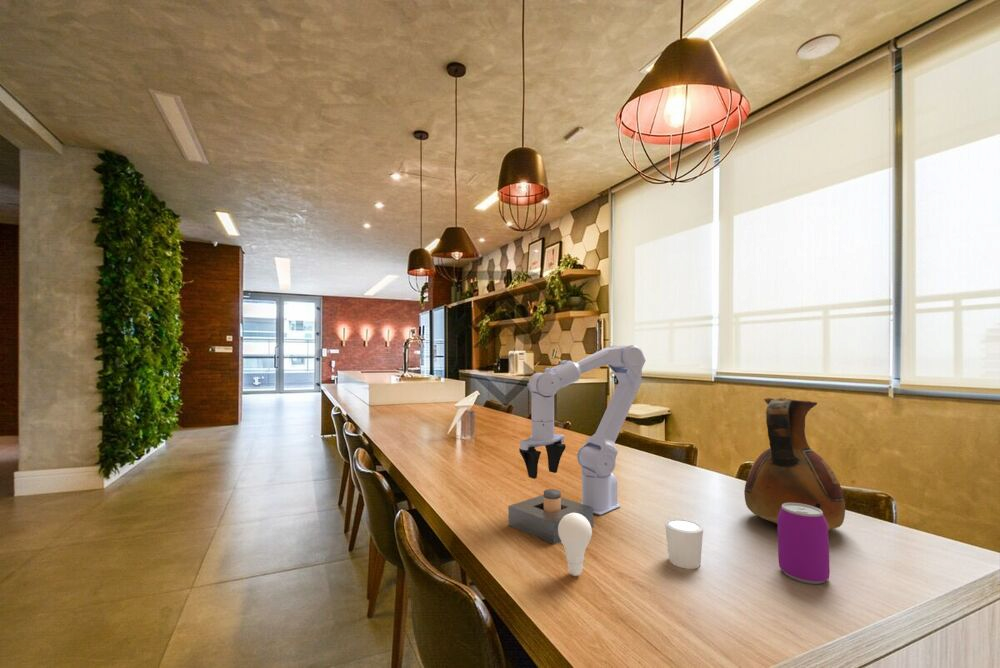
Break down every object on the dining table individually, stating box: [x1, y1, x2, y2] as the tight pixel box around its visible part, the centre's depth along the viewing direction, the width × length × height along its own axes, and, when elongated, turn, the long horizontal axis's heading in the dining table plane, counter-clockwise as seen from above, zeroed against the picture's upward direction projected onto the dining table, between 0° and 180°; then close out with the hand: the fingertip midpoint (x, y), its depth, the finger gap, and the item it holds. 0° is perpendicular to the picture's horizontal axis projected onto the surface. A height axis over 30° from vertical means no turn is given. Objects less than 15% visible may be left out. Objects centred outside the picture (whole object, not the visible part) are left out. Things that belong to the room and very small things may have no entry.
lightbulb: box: [558, 513, 593, 577], centre depth 80 cm, size 6×6×11 cm
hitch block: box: [507, 494, 594, 545], centre depth 102 cm, size 14×14×4 cm
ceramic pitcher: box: [743, 397, 846, 531], centre depth 104 cm, size 20×20×30 cm
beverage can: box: [777, 503, 831, 585], centre depth 80 cm, size 8×8×12 cm
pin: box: [543, 488, 562, 513], centre depth 102 cm, size 4×4×8 cm
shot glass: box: [664, 518, 704, 570], centre depth 85 cm, size 7×7×7 cm
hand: (543, 474), depth 110 cm, fingers open, 7 cm apart
